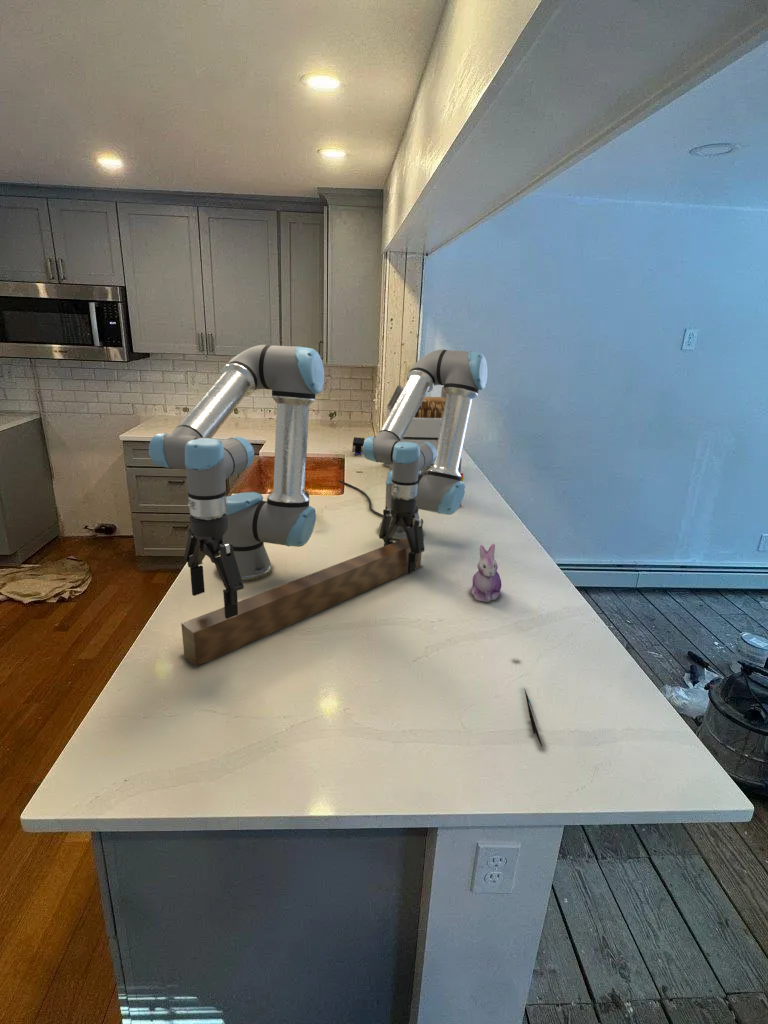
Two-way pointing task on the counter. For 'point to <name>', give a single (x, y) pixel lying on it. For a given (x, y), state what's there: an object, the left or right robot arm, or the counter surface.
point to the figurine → (486, 576)
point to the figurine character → (358, 445)
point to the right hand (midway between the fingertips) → (399, 566)
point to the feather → (532, 718)
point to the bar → (292, 602)
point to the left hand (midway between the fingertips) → (214, 604)
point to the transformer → (423, 420)
